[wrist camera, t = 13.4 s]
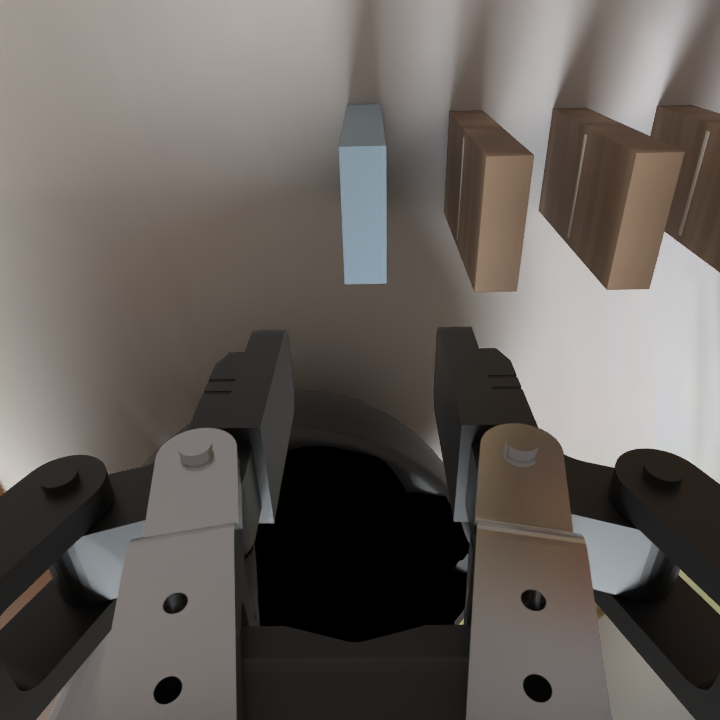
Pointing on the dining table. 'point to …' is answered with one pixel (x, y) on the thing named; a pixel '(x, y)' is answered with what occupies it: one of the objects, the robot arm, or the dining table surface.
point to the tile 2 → (487, 198)
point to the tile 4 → (694, 178)
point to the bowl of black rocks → (359, 528)
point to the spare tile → (363, 195)
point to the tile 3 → (608, 194)
